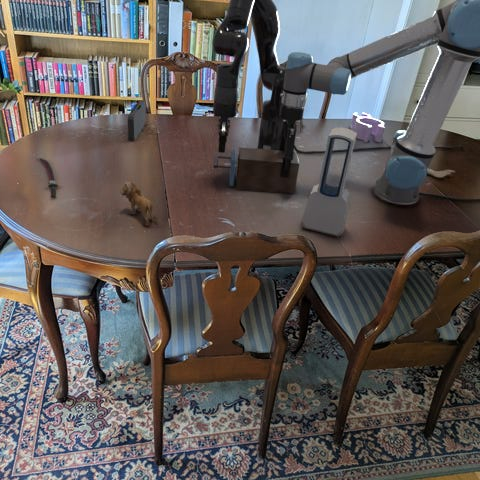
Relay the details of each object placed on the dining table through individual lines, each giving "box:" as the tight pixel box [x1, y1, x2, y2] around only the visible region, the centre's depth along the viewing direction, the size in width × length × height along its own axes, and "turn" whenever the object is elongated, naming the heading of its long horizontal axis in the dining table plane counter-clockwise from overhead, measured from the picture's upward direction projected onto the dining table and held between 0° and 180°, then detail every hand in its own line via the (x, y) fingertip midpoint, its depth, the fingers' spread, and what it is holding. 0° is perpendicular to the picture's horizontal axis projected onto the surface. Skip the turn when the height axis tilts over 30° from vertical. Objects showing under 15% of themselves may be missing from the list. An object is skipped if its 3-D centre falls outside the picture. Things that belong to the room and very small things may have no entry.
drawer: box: [213, 149, 239, 187], centre depth 158 cm, size 24×9×9 cm, turn 91°
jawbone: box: [426, 167, 456, 179], centre depth 185 cm, size 9×20×2 cm, turn 50°
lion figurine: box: [119, 181, 159, 227], centre depth 134 cm, size 15×5×9 cm, turn 50°
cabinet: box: [235, 147, 300, 194], centre depth 159 cm, size 20×10×11 cm, turn 91°
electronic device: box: [300, 127, 357, 237], centre depth 132 cm, size 12×8×30 cm, turn 71°
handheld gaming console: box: [127, 99, 147, 141], centre depth 190 cm, size 23×3×10 cm, turn 178°
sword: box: [40, 158, 59, 198], centre depth 151 cm, size 31×3×1 cm, turn 26°
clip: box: [349, 112, 386, 143], centre depth 214 cm, size 20×12×7 cm, turn 11°
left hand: (221, 151), depth 155 cm, fingers closed
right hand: (282, 170), depth 159 cm, fingers closed on cabinet, 10 cm apart
